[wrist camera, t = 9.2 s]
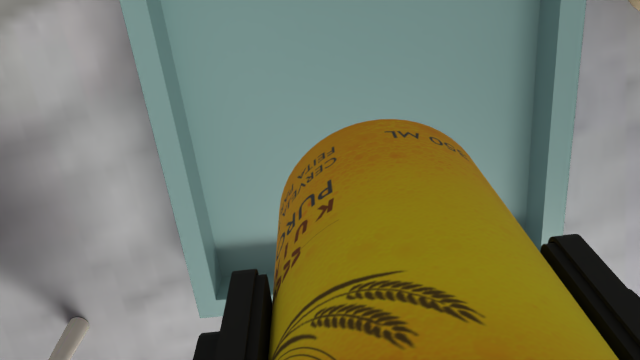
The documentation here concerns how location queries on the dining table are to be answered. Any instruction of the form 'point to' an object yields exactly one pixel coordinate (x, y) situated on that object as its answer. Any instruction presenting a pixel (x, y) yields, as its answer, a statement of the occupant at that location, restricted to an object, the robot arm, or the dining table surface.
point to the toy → (70, 339)
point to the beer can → (412, 259)
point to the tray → (346, 104)
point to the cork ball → (635, 4)
